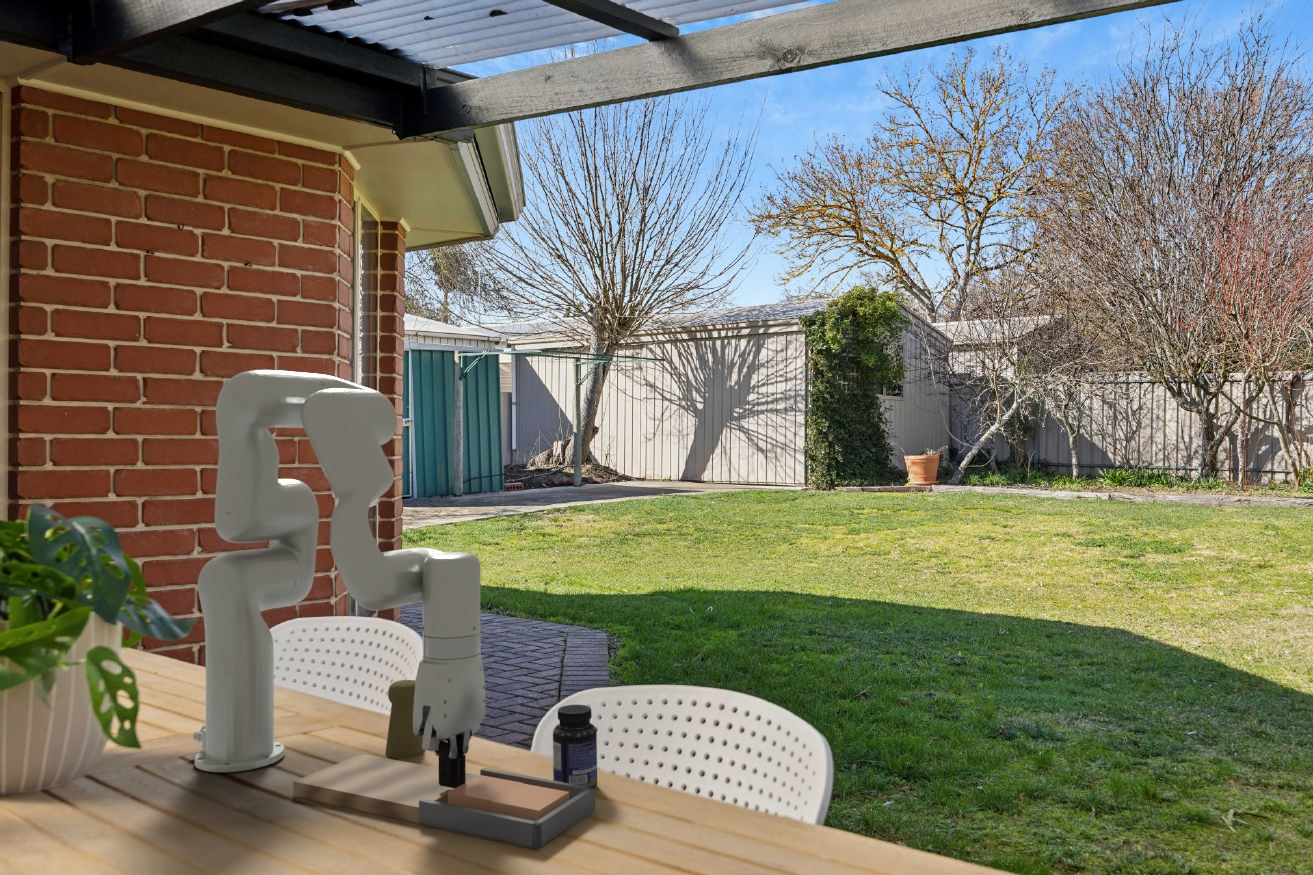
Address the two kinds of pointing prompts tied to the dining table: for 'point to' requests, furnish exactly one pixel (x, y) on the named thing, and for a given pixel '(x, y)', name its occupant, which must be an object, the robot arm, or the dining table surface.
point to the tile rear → (481, 792)
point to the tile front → (529, 802)
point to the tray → (507, 826)
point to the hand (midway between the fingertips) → (452, 784)
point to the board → (375, 786)
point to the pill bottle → (575, 747)
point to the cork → (402, 722)
